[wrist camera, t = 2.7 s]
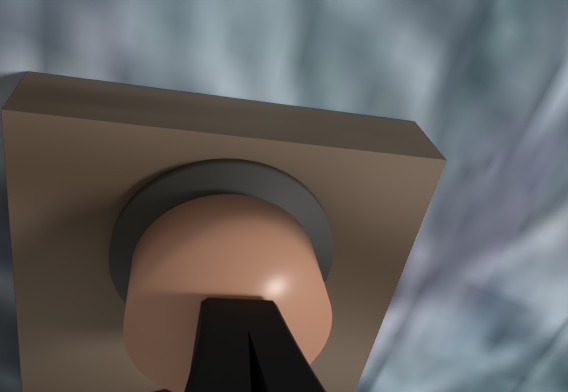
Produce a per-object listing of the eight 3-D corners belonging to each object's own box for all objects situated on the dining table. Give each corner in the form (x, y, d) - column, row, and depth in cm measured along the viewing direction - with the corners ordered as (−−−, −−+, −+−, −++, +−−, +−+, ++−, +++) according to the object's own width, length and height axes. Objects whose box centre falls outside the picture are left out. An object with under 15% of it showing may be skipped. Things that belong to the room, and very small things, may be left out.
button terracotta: (294, 337, 13) (307, 399, 12) (126, 332, 13) (118, 399, 11) (333, 202, 11) (355, 256, 10) (136, 185, 10) (128, 241, 9)
